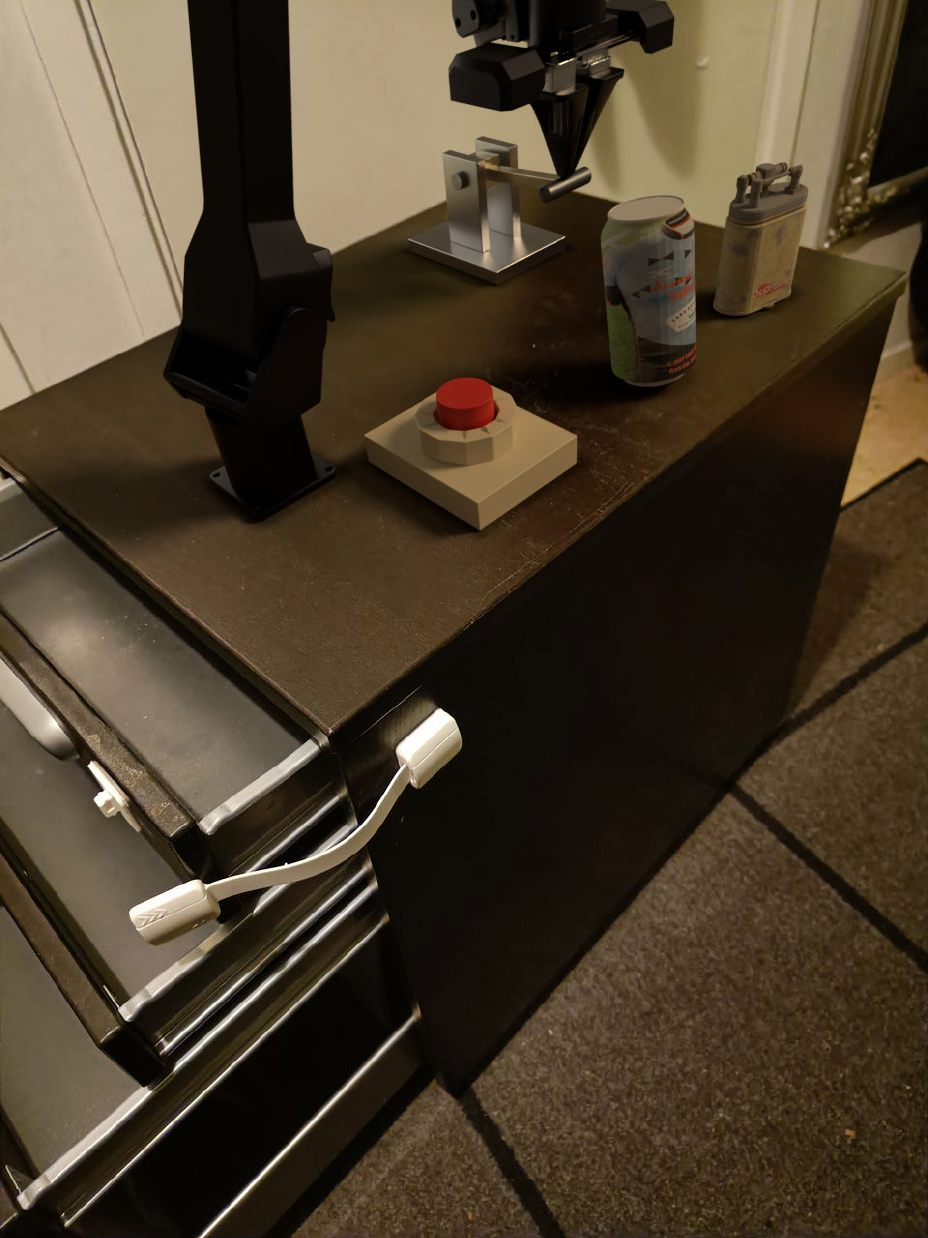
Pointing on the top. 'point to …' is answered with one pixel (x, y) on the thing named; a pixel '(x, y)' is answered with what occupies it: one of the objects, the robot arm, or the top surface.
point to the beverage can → (650, 289)
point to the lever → (532, 178)
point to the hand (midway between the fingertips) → (565, 176)
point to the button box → (473, 457)
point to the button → (465, 404)
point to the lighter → (761, 240)
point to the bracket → (484, 221)
